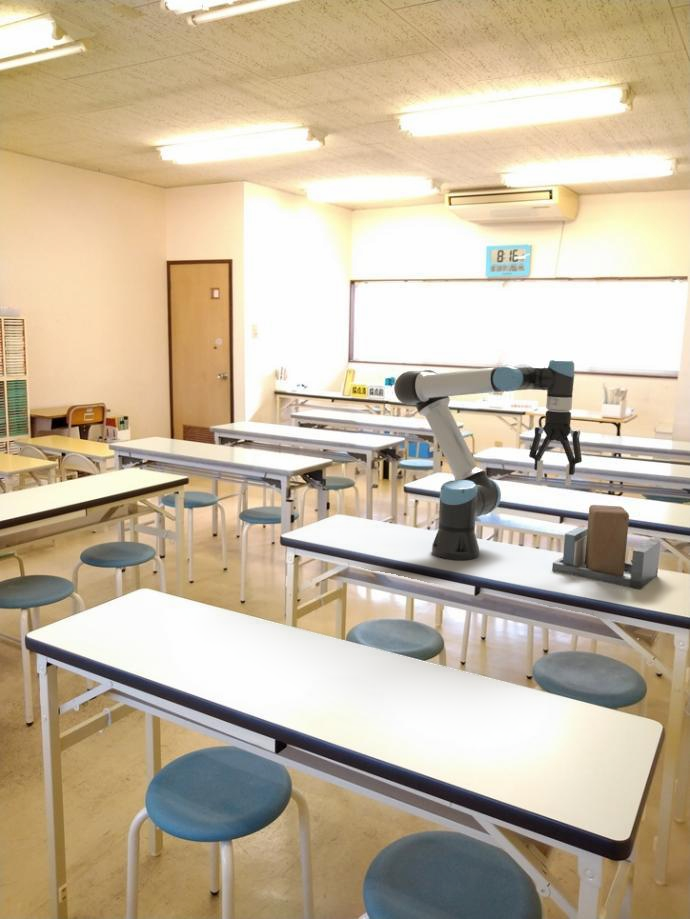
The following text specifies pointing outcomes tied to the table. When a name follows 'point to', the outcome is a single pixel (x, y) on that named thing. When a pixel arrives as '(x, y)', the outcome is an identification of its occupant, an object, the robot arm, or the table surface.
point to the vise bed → (640, 568)
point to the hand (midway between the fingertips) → (553, 482)
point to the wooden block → (607, 539)
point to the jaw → (575, 547)
